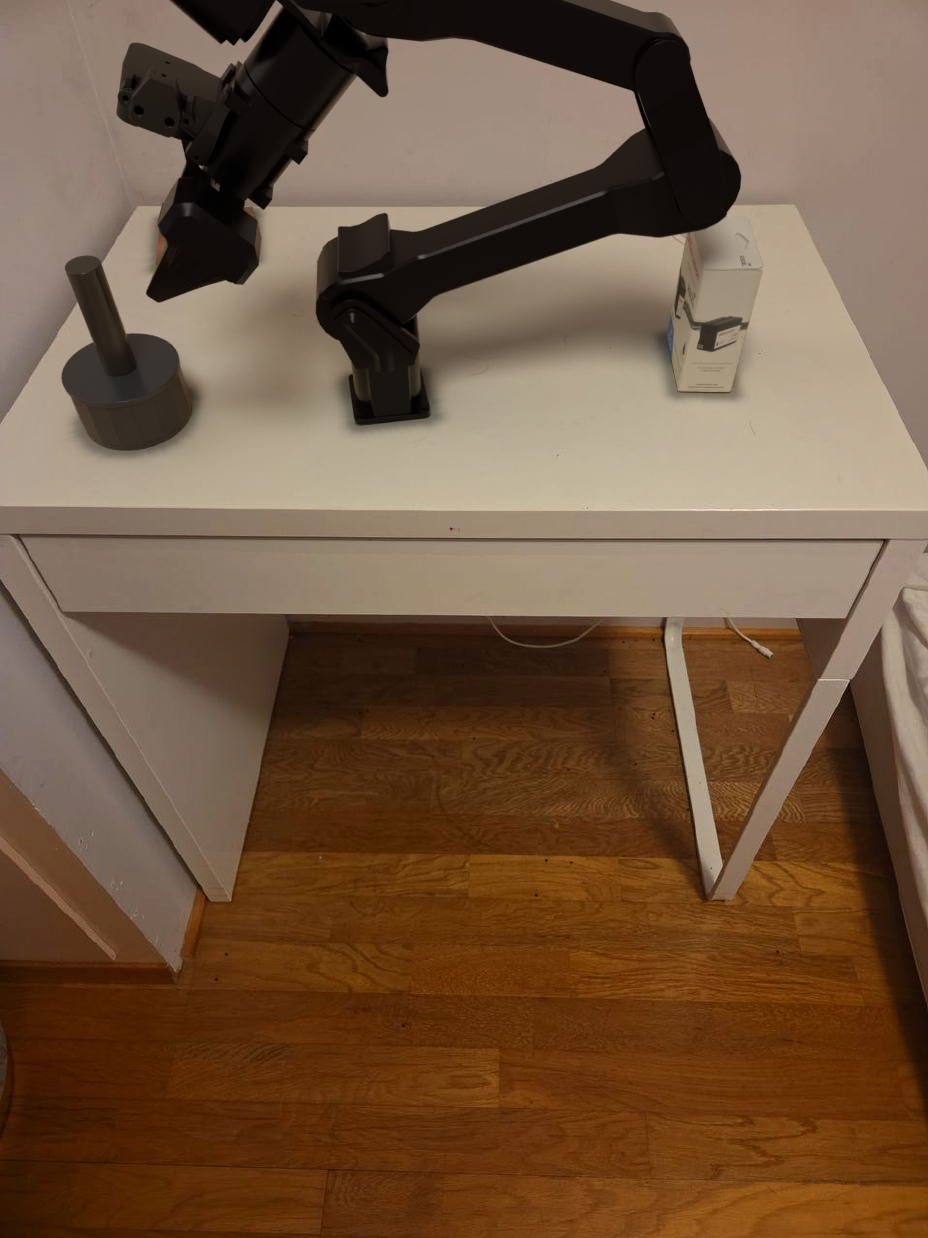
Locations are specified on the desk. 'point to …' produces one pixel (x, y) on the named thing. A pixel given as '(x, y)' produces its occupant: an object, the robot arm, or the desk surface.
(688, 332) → the ink box
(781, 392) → the desk surface
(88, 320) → the lid
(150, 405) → the bowl
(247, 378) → the desk surface
